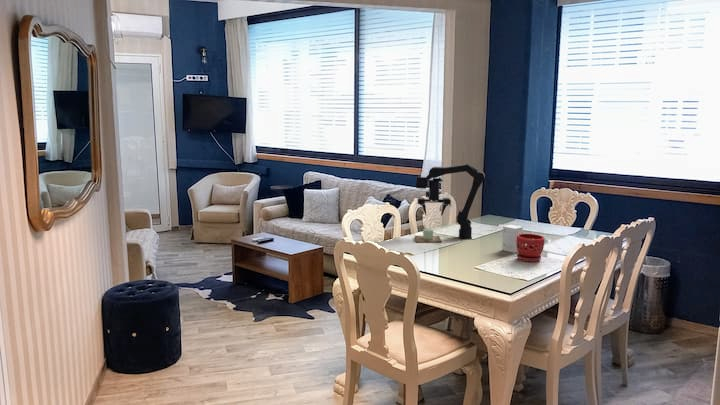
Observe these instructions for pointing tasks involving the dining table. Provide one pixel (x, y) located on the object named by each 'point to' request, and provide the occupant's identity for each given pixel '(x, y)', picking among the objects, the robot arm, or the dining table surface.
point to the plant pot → (530, 247)
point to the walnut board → (435, 239)
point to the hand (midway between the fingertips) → (433, 215)
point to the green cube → (428, 233)
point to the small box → (510, 238)
